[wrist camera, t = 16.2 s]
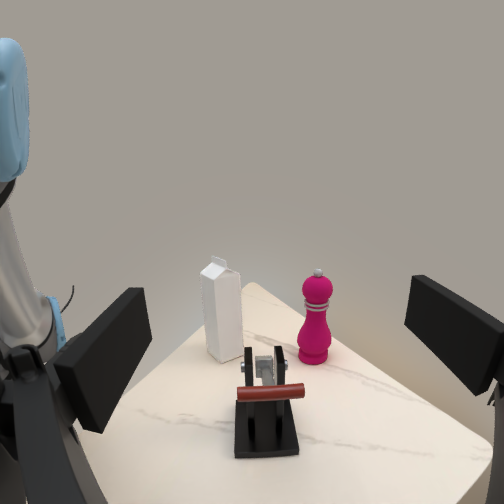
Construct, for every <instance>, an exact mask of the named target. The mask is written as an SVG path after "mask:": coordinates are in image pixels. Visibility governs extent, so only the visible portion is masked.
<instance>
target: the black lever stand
mask: <svg viewBox="0 0 504 504" xmlns="http://www.w3.org/2000/svg"><path fill="white" fill-rule="evenodd" d="M287 368H288V365H287V360H284V355H283V350H282V346H274V382H275V385H285V370H287ZM241 372H245V386H246V387H249V386H253V362H252V347H244V362H241ZM234 454H235V458H263V457H279V456H290V455H298V454H299V445H298V440H297V435H296V430H295V425H294V420H293V415H292V410H291V405H290V400H289V399H286V400H272V401H250V402H238V400H236V413H235V447H234Z"/></svg>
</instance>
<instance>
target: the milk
mask: <svg viewBox="0 0 504 504" xmlns="http://www.w3.org/2000/svg"><path fill="white" fill-rule="evenodd" d="M211 259H212V262H211V263H210V264H209V265H208V266H207V267H206V268H205V269H204V270H203V271H201V272H200V280H201V292H202V303H203V313H204V322H205V331H206V340H207V349H208V352H209V353H210V354H211V355H212V356H213V357H214V358H215V359H217V360H218V361H219V362H220V363H224V362H227V361H229V360H232V359H234V358H237V357H240V356H242V355H244V344H243V325H242V304H241V284H240V274H239V273H237V272H235V271H232V270H230V269H228V268H227V262H226V260H223V259H221V258H218V257H215V256H213V255H212V256H211Z"/></svg>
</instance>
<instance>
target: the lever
mask: <svg viewBox="0 0 504 504" xmlns="http://www.w3.org/2000/svg"><path fill="white" fill-rule="evenodd" d="M255 366H256V378H262V384H263V386H249V387H237V400H238V402H250V401H272V400H286V399H298V398H304V396H305V388H304V384H303V383H298V384H286V385H275V382H274V379H273V377H274V373H273V358H272V356H255Z"/></svg>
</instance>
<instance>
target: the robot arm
mask: <svg viewBox="0 0 504 504" xmlns="http://www.w3.org/2000/svg"><path fill="white" fill-rule="evenodd" d="M28 95H29V94H28V78H27V68H26V62H25V57H24V54H23V51H22V49H21V46H20V45H19V44H18V43H17V42H16V41H15V40H13V39H10V38H0V504H26V498H27V502H28V504H108V502H107V501H106V499H105V497H104V495H103V493H102V491H101V489H100V487H99V485H98V483H97V481H96V479H95V477H94V474H93V472H92V470H91V468H90V465H89V463H88V461H87V458H86V456H85V453H84V451H83V448H82V446H81V443H80V441H79V438H78V435H77V432H76V430H75V428H74V427H73V425H72V424H73V423H74V421H75V420H76V418H78V420H79V422H80V424H81V426H82V428H83V429H84V430H88V431H92V432H96V433H100V434H102V433H103V431H104V429H105V427H106V425H107V423H108V421H109V419H110V417H111V415H112V413H113V411H114V409H115V407H116V405H117V404H118V402H119V400H120V398H121V396H122V394H123V392H124V390H125V388H126V386H127V385H128V383H129V381H130V379H131V377H132V375H133V373H134V371H135V370H136V368H137V366H138V364H139V362H140V360H141V359H142V357H143V355H144V353H145V351H146V350H147V348H148V346H149V344H150V342H151V341H152V335H151V329H150V324H149V319H148V313H147V308H146V301H145V295H144V288H128V289H127V290H126V291H125V292H124V293H123V294H121V295H120V296H119V298H117V299H116V300H115V301H114V302H113V303H112V304H111V305H110V306H109V307H108V308H107V309H106V310H105V311H104V312H103V313H102V314H101V315H100V316H99V317H98V318H97V319H96V320H95V321H94V322H93V323H92V324H91V325H90V326H89V327H88V328H87V329H86V330H85V331H84V332H83V333H79V334H78V335H76V336H74V337H72V338H71V339H70V340H69V341H68V342H66V338H65V333H64V327H63V323H62V318H61V313H62V312H63V311H64V310H65V308H66V307H67V306H68V305H69V303H70V301H71V299H72V297H73V293H74V286H73V291H72V295H71V298H70V300H69V301H68V303H67V304H66V306H65V307H64V308H63V309H62V311H60V309H59V305H58V302H57V300H56V298H55V297H48V296H47V297H45V296H44V295H43V294H42V293H41V292H40V291H39V290H37V289H36V288H34V287H33V284H32V281H31V279H30V276H29V273H28V271H27V268H26V265H25V262H24V259H23V256H22V253H21V249H20V246H19V243H18V239H17V236H16V232H15V229H14V225H13V221H12V217H11V213H10V208H9V204H8V200H9V199H10V197H11V195H12V193H13V191H14V188H15V185H16V180H17V176H19V175H21V174H22V173H23V172H24V170H25V168H26V166H27V161H28V155H29V120H28V117H29V96H28ZM404 325H405V326H406V327H407V328H408V329H409V330H411V331H412V332H413V333H414V334H415V335H416V336H417V337H418V338H419V339H420V340H421V341H422V342H423V343H424V344H425V345H426V346H427V347H428V348H429V349H430V350H431V351H432V352H433V353H434V354H435V355H436V356H437V357H438V358H439V359H440V360H441V361H442V362H443V363H444V364H445V365H446V366H447V367H448V368H449V369H450V370H451V371H452V372H453V373H454V374H455V375H456V376H457V377H458V378H459V380H461V382H462V383H463V384H464V385H465V386H466V387H467V388H468V389H469V390H470V391H471V392H472V393H473V394H474V395H475V396H478V395H480V394H482V393H484V392H486V391H488V389H489V386H490V384H491V382H492V380H493V378H494V379H496V380H497V381H498V382H497V384H496V387H495V389H494V391H493V393H492V395H491V397H490V399H489V401H488V404H487V405H490V403H491V401H493V400H495V401H494V404H493V406H495V431H494V448H493V459H492V468H491V475H490V482H489V488H488V493H487V498H486V503H485V504H504V324H503V323H502V322H500V321H499V320H497V319H495V318H494V317H493V316H491V315H490V314H488V313H486V312H485V311H483V310H482V309H480V308H478V307H477V306H475V305H474V304H472V303H470V302H469V301H467V300H466V299H464V298H462V297H461V296H459V295H457V294H456V293H454V292H452V291H451V290H449V289H447V288H445V287H444V286H442V285H440V284H439V283H437V282H435V281H433V280H432V279H430V278H428V277H426V276H425V275H415V276H412V280H411V287H410V294H409V300H408V307H407V312H406V319H405V323H404ZM45 362H47V363H46V364H45V365H44V364H43V363H45Z"/></svg>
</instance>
